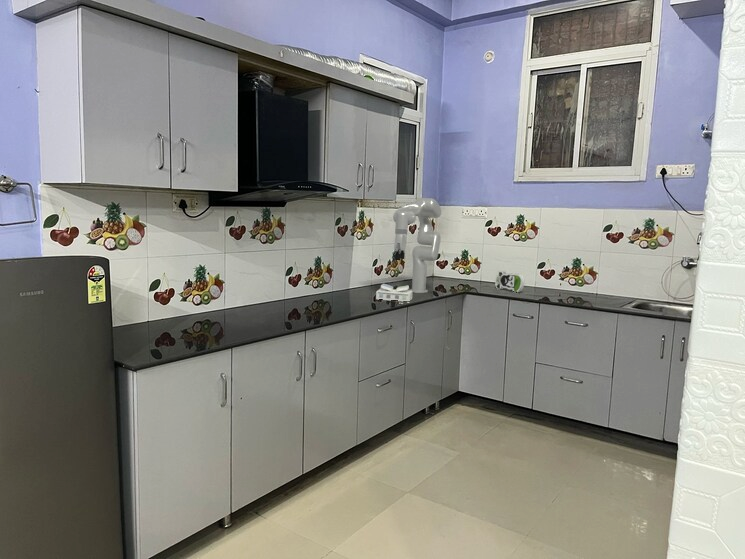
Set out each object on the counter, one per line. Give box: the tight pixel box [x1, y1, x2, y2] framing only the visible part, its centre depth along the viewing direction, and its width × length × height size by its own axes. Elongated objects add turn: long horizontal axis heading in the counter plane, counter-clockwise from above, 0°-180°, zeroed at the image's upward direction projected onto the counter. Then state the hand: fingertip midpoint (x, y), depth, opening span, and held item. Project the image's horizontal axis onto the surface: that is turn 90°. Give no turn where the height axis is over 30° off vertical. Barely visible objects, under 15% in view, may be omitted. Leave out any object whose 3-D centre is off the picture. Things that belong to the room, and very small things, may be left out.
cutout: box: [494, 270, 525, 293], centre depth 404 cm, size 15×3×25 cm
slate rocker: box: [380, 283, 394, 291], centre depth 351 cm, size 6×7×2 cm
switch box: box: [375, 287, 414, 302], centre depth 350 cm, size 13×21×6 cm, turn 78°
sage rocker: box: [396, 284, 410, 291], centre depth 349 cm, size 6×7×2 cm
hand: (399, 259), depth 346 cm, fingers open, 9 cm apart
